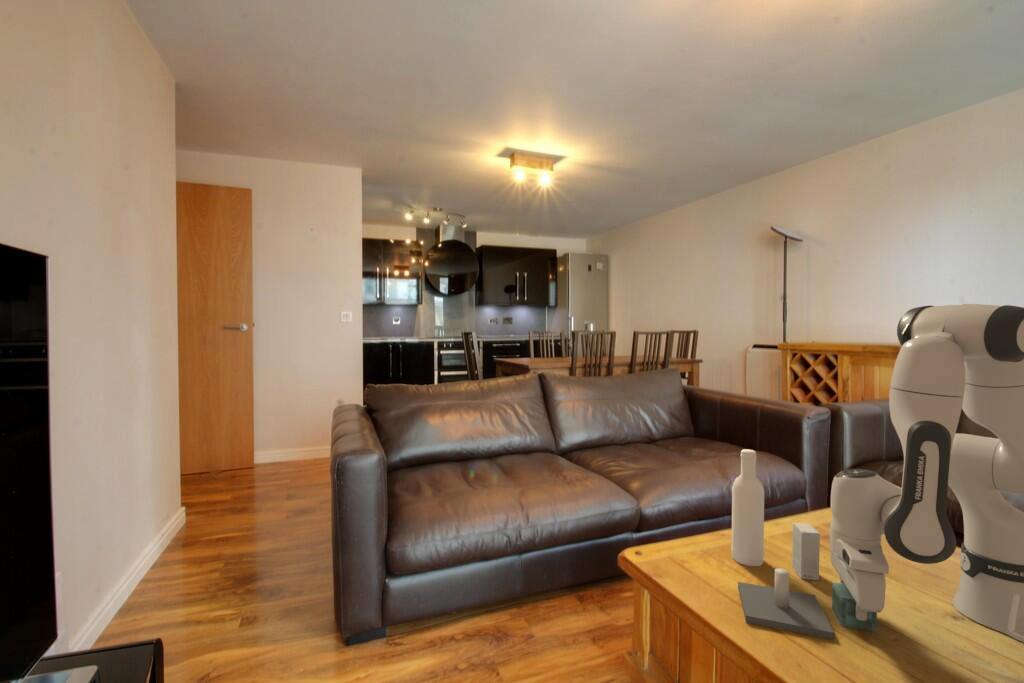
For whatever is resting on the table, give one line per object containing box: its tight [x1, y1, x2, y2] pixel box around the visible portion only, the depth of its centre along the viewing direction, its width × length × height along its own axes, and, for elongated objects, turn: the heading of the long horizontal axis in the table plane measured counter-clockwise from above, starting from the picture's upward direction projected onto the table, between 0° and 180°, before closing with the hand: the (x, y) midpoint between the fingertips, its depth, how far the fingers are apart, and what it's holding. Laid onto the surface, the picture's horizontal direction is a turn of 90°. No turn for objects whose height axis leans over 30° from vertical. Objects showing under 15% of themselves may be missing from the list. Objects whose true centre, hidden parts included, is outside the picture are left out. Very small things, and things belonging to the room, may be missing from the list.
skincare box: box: [791, 522, 821, 581], centre depth 117 cm, size 6×4×12 cm
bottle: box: [730, 448, 765, 567], centre depth 125 cm, size 8×8×30 cm
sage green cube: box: [831, 582, 878, 632], centre depth 99 cm, size 6×6×6 cm
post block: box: [737, 567, 835, 641], centre depth 102 cm, size 16×14×9 cm
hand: (853, 607), depth 99 cm, fingers closed on sage green cube, 6 cm apart
